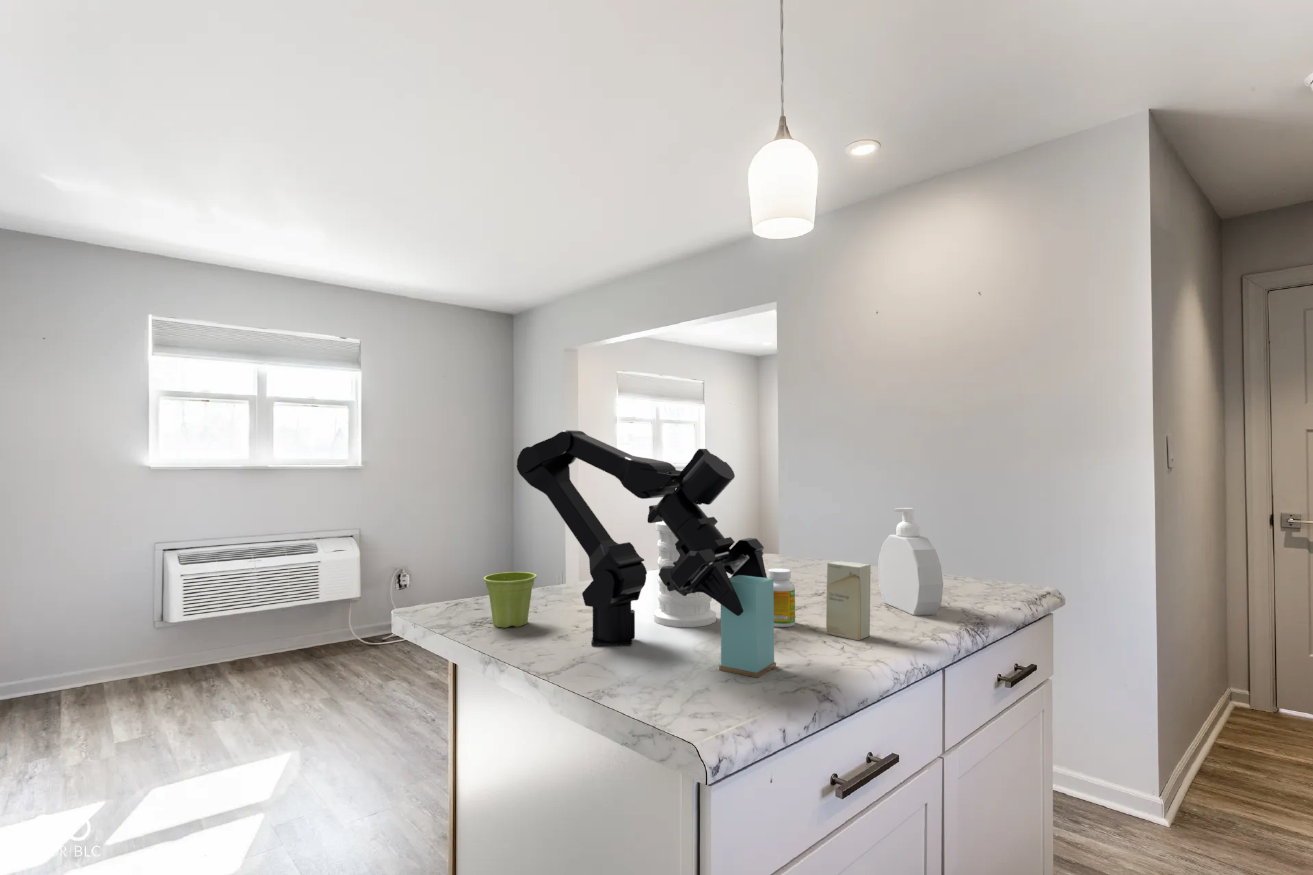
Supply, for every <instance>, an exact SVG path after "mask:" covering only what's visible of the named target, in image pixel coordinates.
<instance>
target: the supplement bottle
mask: <svg viewBox="0 0 1313 875" xmlns="http://www.w3.org/2000/svg"><path fill="white" fill-rule="evenodd" d="M767 575H768V576H767V577H768V578H771V579H773V581H774V628H788V627H789V628H790V627H793V626H795V624H796V586H795V583H793V582H792V581H790V579H791V578H792V571H791V570H790V569H787V568H781V567H780V568H769V569H768V574H767Z"/></svg>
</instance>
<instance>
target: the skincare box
mask: <svg viewBox="0 0 1313 875" xmlns="http://www.w3.org/2000/svg"><path fill="white" fill-rule="evenodd" d="M826 566H827V570H826V618H825V619H826V620H825V622H826V625H825V627H826V628H825V629H826V630H825V633H826V635H827V634H828V635H832V636H836V637H841V638H845V639H848V640H849V639H850V640H853V641H861V640H863V639H866V638H867V637H870V636H871V635H870V634H871V633H870V632H871V570H872V569H871V564H868V563H861V562H854V561H853V562H852V561H846V560H834V561H829V562H827V563H826Z"/></svg>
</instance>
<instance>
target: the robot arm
mask: <svg viewBox="0 0 1313 875" xmlns="http://www.w3.org/2000/svg"><path fill="white" fill-rule="evenodd" d="M577 459H578V460H580V461H582V462H584V463H586V464H589V465H590V466H593V467H595V468H597V469H598V470H601V471H603V472H605V473H607V474H609V475H611V476H613V477H615V478H616V479H618V481H619V482H620V484H621V485H622V487H623V488H625V489H626V490H628V491H629V492H630V493H631V494H632V495H634V496H635V497H637V498H638V499H642V500H643V499H646V500H647V499H656V498H657V499H658V498H661V499H660V500H659V502H658V503H657V504H653V505H649V506H648V509H649V510H648V515H647V523H648V524H656V522H662V521H664V523H665V524H666V525H667V527H668V528H669V529H670V530H671V532H672V533H673V534H674V535H675V537H676V538H677V539H678V541H677V543H676V544H675V546H676V550H677V551H678V552H679V554H680V556H679V558H678V560H677V561H675V562H674V563H673V564H674V565H675V566H664V567H662V568H661V570H660V572H658V575H659V577H660V578H661V580H662V582H663V583H664V585H665V586H667V590H668V591H673V590H676V591H677V592H679V593H680V594H681V595H683V596H687V594H690V593H696V592H702V593H705V594H707V595H708V596H710V597H711V598H712V599H713V601H716V602H717V603H719V604H720V606H721V605H723V606H724V607H725V608H727V609H728V610H730V611H731V612H732V613H734V614H735V615H737V616H740V615H741V614H742V613H743V608H742V605H741V603H740V600H739V598H738V596H737V594H736V592H735V590H734V588H733V585H732V583H731V581H730V579H729V578H731V577H734V576H737V575H744V576H753V577H762V578H768V576H767V575H768V574H767V572H766V569H765V568H766V567H765V564H764V563H765V562H764V557H763V556H764V551H763V550H764V549H765V548H764V545H763V544H762V543H761V542H760V541H759V540H758V539H757V538H753V537H747V538H743V539H739V540H738V541H737V542H736V543H735V540H733V538H732V537H731V536H729V537H724V535H723V534H722V533H721V531H720V530H719V529H718V528H717V526H715V525H716V524H717V523H718V520H717V519H716V518H715V516H710V517H708V516H707V514H706V513H705V512H704V511H703V510H702V509H701V507H700V506H701V505H702V504H703V505H707V506H709V505H711V504H712V503H714V501H715V500H716V499H717V498H718V497H719V496H720V494H721V493H722V492H723V491H725V489H726V488H727V487H728V486H729V484H730V483H731V482H732V481H733V480H734V479H735V472H734V470H733V468H732V467H731V466H730V465H729V464H728V462H726V461H723V459H721V458H720V457H718V456H717V455H715V454H713V453H711V452H710V451H709V450H708V448H698V449H697V450H696V452H694V454H693V456H692V458H691V459H690V461H688V463H687V464H686V465H685V466H684V468H683V469H682V470H678V469H677V468H676V467H675V466H674V465H673V464H671V463H670V462H668V461H663V460H658V459H654V458H647V457H641V456H635V455H632V454H630V453H627V452H626V451H623V450H621V449H619V448H616V447H615V446H612V445H610V444H608V443H606V442H604V441H601V440H599V439H597V438H594V437H592V436H589V434H586V433H585V432H584V431H583V430H568V429H565V430H562V431H560V432H558V433H557V434H555V435H553V436H551V437H549V438H547V439H544V440H542V441H540V442H537V443H534V444H533V445H531V446H526V447H524V448H522V450H520V452H519V455H518V457H517V459H516V469H517V472H518V473H519V475H520V476H521V478H522V479H523V480H525V481H526V483H527V484H528V485H530V487H532V488H534V489H536V490H538V492H542V493H543V494H544V495H546V496H547V498H548V500H549V501H550V502H551V504H552V505H553V507H554V508H555V510H556V511H557V513H558V514H559V515H560V517H561V519H562V521H564V523H565V524H566V526H567V528H568V529H569V530H570V532H571V533H572V534H573V536H574V537H575V539H576V541H577V542H578V543H579V544H580V547H581V548H582V549H583V550H584V552H585V554H586V555H587V556H588V560H589V561H588V562H589V573H590V577H591V578H592V581H591V582H590V583H589V584H588V586H587V587H586V588H585V589H584V591H582V595H581V596H582V598H583V602H584V606H585V607H591V608H592V638H591V641H590V644H591V646H631V645H632V643H633V640H634V639H635V638H636V634H635V633H636V629H635V628H636V627H635V626H636V624H635V623H636V622H635V621H636V618H635V614H636V611H635V609H632V602H633V601H638V600H639V599H640V595H641V592H642V589H643V588H644V586H645V585H646V583H647V582H646V581H647V573H648V571H647V568H646V566H645V564H644V563H643V562H644V561H645V559H644V558H643V557H642V556H640V555H639V554H638V552H637V550H636V548H635V546H634V545H633V544H632V543H631V542H628V541H627V542H623V543H618V542H616V541H615V540H614V539H613V537H611V535H610V533H609V532H608V531H607V530H606V528H605V527H604V525H603V524H602V523H601V522H600V519H598V517H597V516H596V514H595V513H594V511H593V510H592V508H591V507H590V506H589V504H588V502H586V500H585V498H583V496H582V495H581V493H580V492H579V490H578V489H577V487H575V485H574V484H573V482H572V481H571V472H570V465H571V464H573V463H575V461H576V460H577ZM699 505H700V506H699ZM732 545H733V546H732ZM728 574H729V575H731V576H730V577H729V575H728Z"/></svg>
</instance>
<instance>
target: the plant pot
mask: <svg viewBox="0 0 1313 875" xmlns="http://www.w3.org/2000/svg"><path fill="white" fill-rule="evenodd" d="M537 577H538V576H537V574H536V573H534V572H527V571H507V572H497V573H491V574H487V575H486V576H484V577H483V581H484V582H485V585H486V589H487V591H488V597H489V603H490V609H491V610H490V611H491V618H492V623H493V626H494V627H496V628H504V629H507V628H509V627H511V626H513V627H516V628H518V627H521V626H524V625H526V624H528V621H529V612H530V607H531V606H530V605H531V600H532V599H531V597H532V591H533V590H532V589H533V587H534V584H535V583H534V582H535V579H536V578H537Z"/></svg>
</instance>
